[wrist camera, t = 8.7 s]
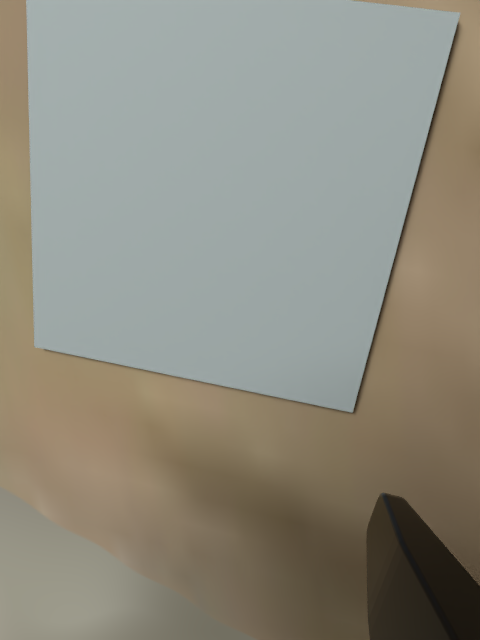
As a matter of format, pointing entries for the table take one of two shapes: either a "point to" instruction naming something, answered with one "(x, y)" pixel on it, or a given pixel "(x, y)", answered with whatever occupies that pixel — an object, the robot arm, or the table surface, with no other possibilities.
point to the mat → (225, 182)
